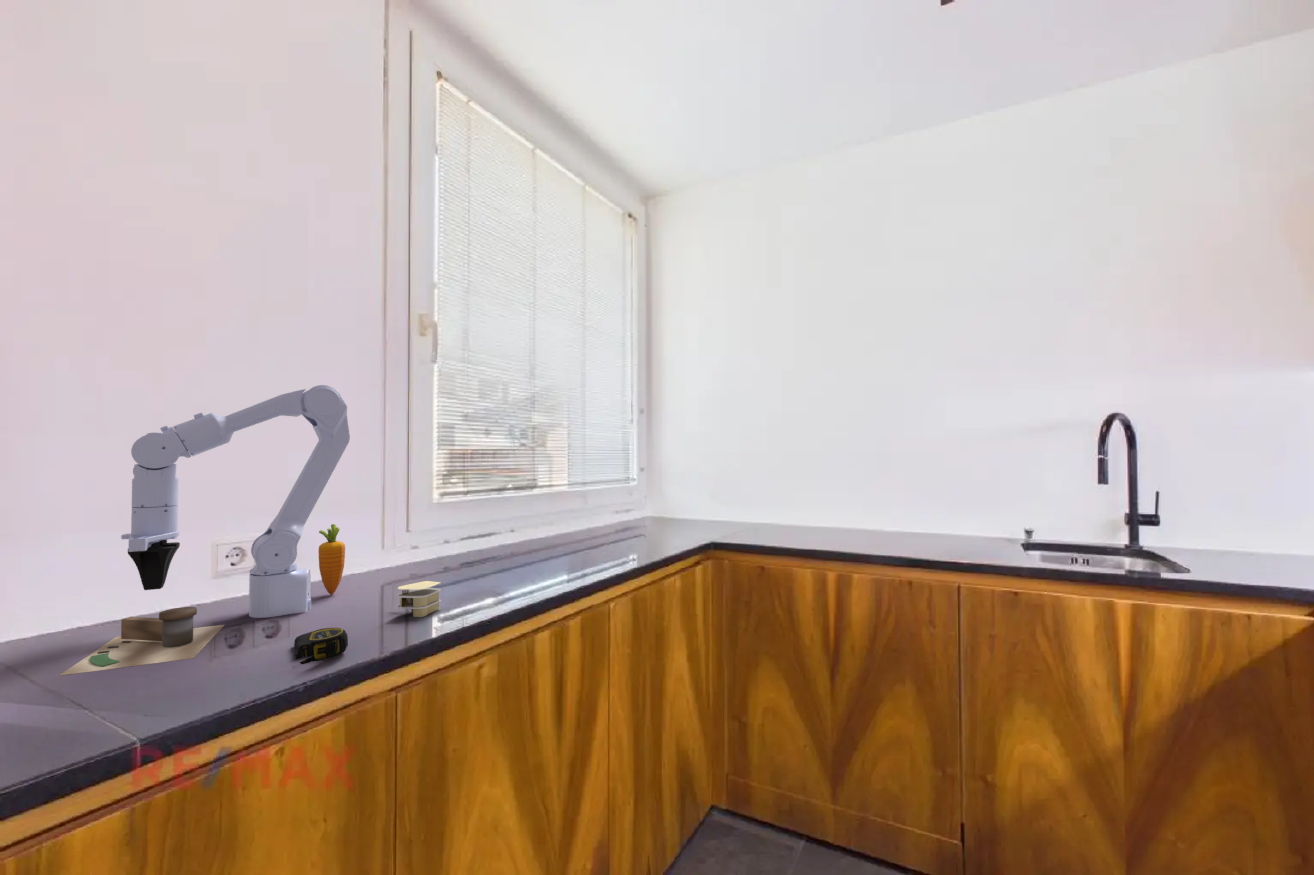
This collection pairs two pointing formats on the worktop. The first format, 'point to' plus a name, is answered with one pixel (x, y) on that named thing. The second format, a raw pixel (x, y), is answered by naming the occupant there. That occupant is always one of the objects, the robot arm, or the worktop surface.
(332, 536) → the carrot
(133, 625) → the dial pointer
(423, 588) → the stacked layers on plate
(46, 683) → the worktop surface
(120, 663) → the dial board
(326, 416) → the robot arm
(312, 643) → the tape measure
